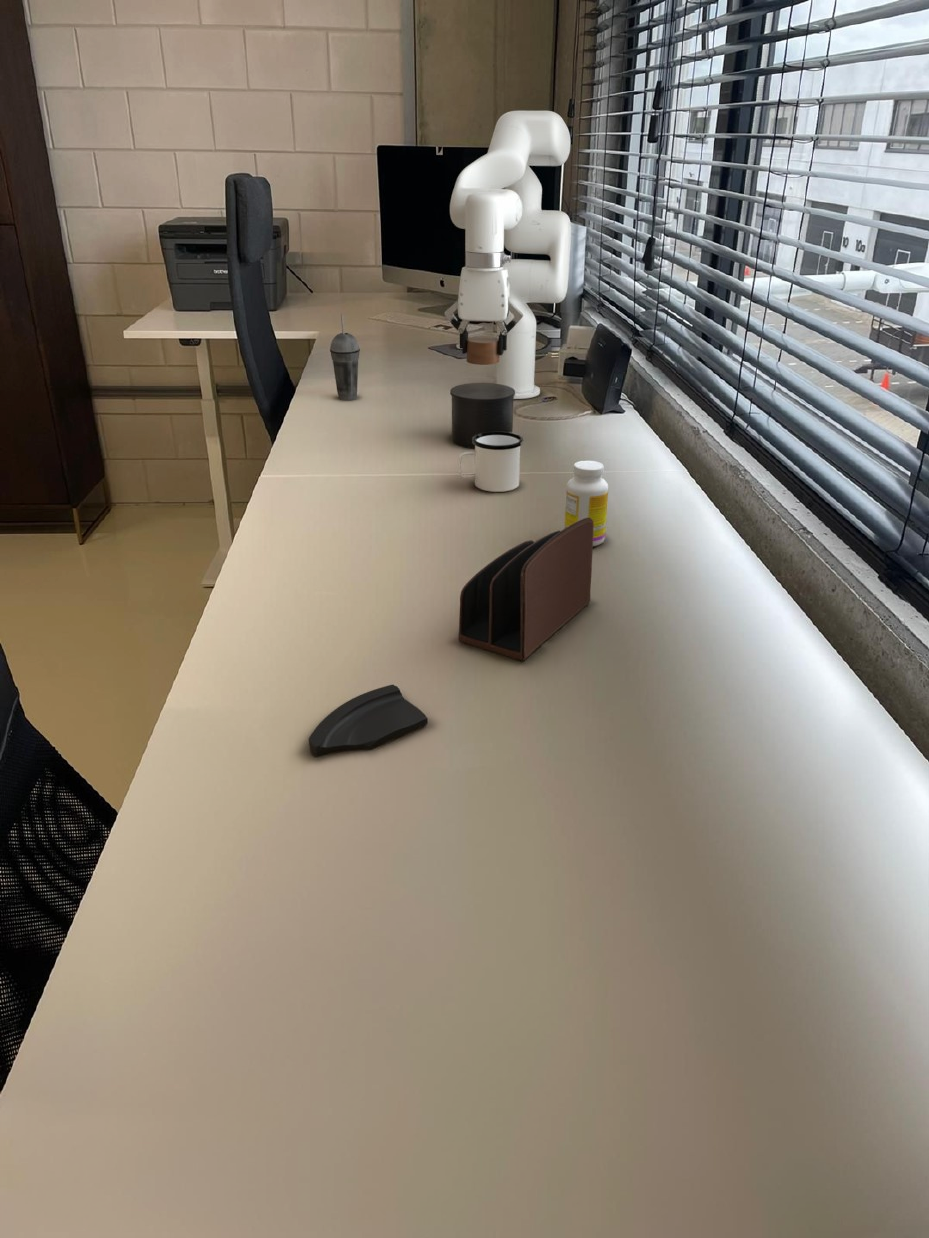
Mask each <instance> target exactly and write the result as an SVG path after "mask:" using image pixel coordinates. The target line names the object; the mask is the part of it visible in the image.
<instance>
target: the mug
mask: <svg viewBox="0 0 929 1238" xmlns="http://www.w3.org/2000/svg"><path fill="white" fill-rule="evenodd" d="M472 443H473V444H474V445H475V449H474V450H473V451H471V450H470V451H463V452H461V453H459V456H458V471H459V476H461V477H462V478H469V479H470V478H474V485H475V487H476V488H477V489H479V490H481V491H485V492H489V493H506V492H510V491H511V492H512V491H514V490H515V489H516V488H519V486H520V470H521V469H520V468H521V464H520V463H521V446H522V445H523V444H524V438H523V436H522V435H521V434H518V433H515V432H513V433H511V432H504V431H490V432H483V433H479V434H477V435H475V436H474V437H473V438H472ZM463 456H474V473H469V474H467V473H466V474H463V473H462V472H463V470H462V457H463Z"/></svg>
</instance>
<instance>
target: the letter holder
mask: <svg viewBox="0 0 929 1238" xmlns="http://www.w3.org/2000/svg"><path fill="white" fill-rule="evenodd" d="M593 529H594V524H593V520H592V519H591V518H589V517H588V518H584V519H582V520H579V521H577V522H575V523H573V524H572V525H570V526H568V527H567V528H565V527H564V528H563V529H562V530H556V531H554V532H550V533H548V534H547V535H545V536H543V537H541V538H539V539H536V541H534V540H532V539H530V540H525V541H523V542H521V543H519V544H517V545H516V546H514V547H512V548H509V550H507V551H505V552H503V553H502V554H501V555H499V556H498V557H496V558H494V559H493V560H492V561H491V562H489V563H488V564H487V565H485V566H484V567H483V568H481V569H480V570H479V571H478V572H477V573H476V574H474V575H473V577H471V578H470V579H469V580H468V581H467V582H466V583H465V585H464V586H463V587H462V589H461V591H460V596H459V616H458V617H459V618H458V642H461V643H463V644H467V645H470V646H473V647H475V648H479V649H483V650H486V651H489V652H492V653H496V654H499V655H502V656H506V657H508V658H511V659H515V660H518V661H521V662H523V661H525V660H526V659H528V657H530V656H531V655H532V653H534V652H535V651H536V650H537V649H538V648H540V646H542V644H544V643H545V642H546V641H547V640H549V638H551V637H552V636H553V635H554V634H555V633H556V632H558V631H559V630H560V629H561V628H562V627H563V626H565V625H566V624H567V623H568V622H569V621H571V619H573V618H574V617H575V616H576V615H577V614H578V613H579V612H580V611H582V610H583V609H584V608H585V607H586V606H588V605H589V603H591V587H592V574H593V573H592V572H593V571H592V569H593V553H594V546H593Z"/></svg>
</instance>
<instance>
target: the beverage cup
mask: <svg viewBox="0 0 929 1238" xmlns="http://www.w3.org/2000/svg"><path fill="white" fill-rule="evenodd" d="M340 321H341V332H340V333H338V334H336V335H335V336H334V337H333V339H332V341H331V343H330V349H329V352H330V357H331V360H332V365H333V372H334V380H335V386H336V393H337V396H338V397H337V398H338V400H341V401H354V400H356V399H357V398H358V396H357V395H358V382H359V381H358V379H359V377H358V376H359V359H360V352H361V349H360V348H361V347H360V344H359V341H358V339H357V338H356V337H355V336H354V335H353V334H351V333H349V332H345V323H344V314H340Z"/></svg>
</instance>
